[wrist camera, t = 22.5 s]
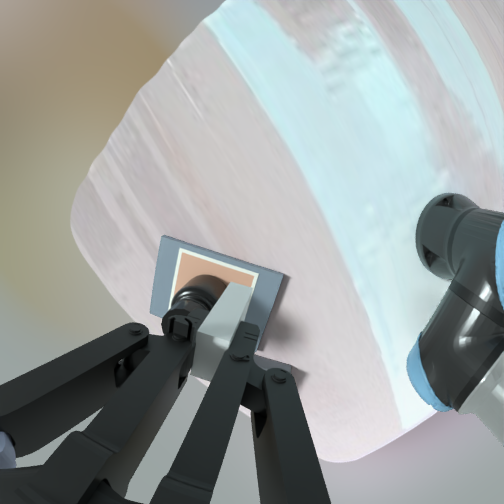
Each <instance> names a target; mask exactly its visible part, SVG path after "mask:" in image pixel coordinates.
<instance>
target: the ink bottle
mask: <svg viewBox="0 0 504 504" xmlns="http://www.w3.org/2000/svg"><path fill="white" fill-rule="evenodd" d="M226 288H227V286H226V285H225V284H224V283H223V282H222V281H221V280H220V279H218V278H216V277H214V276H212V275H206V274H204V275H198V276H196V277H194V278H192V279H191V280H190V281H188V282H187V283H186V284H185V285H184V286H183V287H182V288H181V289H180V290H179V291H178V292H177V293H176V294H175V295H174V297H173V299H172V302H171V308H170V309H169V310H168V311H167V313H166V314H165V315H164V316H163V319H162V323H161V326H162V330H163V333H164V335H165V334H166V332H167V322H168V318H169V317H170V316H174V315H182V316H186V317H187V316H188V314H189V313H190V312H191V311H192V310H194V309H197V308H199V309H203V310H206V311H209V312H210V311H211V310H212V308H213V307H214V305H215V304H216V303H217V301H218V300H219V298H220V297H221V295H222V294H223V292H224V291H225V289H226Z"/></svg>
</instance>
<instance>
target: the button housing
mask: <svg viewBox="0 0 504 504" xmlns="http://www.w3.org/2000/svg"><path fill="white" fill-rule="evenodd" d="M253 359H254V362H255V363H256V364H257V365H258V366H259V367H260V368H262V369H264V370H266V371H267V370H268V369H270V368H281V369H284V370H286V371H288V372H289V373H291V365H289V364H285V363H281V362H278V361H274V360H271V359H268V358H264V357H261V356H258V355H254V356H253Z"/></svg>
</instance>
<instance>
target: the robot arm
mask: <svg viewBox="0 0 504 504" xmlns="http://www.w3.org/2000/svg"><path fill="white" fill-rule="evenodd" d="M416 248H417V252H418V255H419V258H420V260H421V262H422V263H423V265H424V266H425V267H426V268H427V269H428V270H429V271H430V272H432V273H433V274H435V275H436V276H438V277H441V278H444V279H453V280H452V282H451V284H450V286H449V288H448V290H447V292H446V293H445V295H444V297H443V299H442V300H441V302H440V304H439V306H438V307H437V309H436V311H435V312H434V314H433V316H432V317H431V319H430V320H429V322H428V324H427V325H426V327H425V328H424V330H423V331H422V332H421V333H420V334H419V336H418V338H417V341H416V343H415V345H414V346H413V348H412V349H411V351H410V353H409V355H408V357H407V373H408V376H409V379H410V381H411V383H412V385H413V387H414V389H415V390H416V392H417V393H418V394H419V396H420V397H421V398H422V399H423V400H424V401H425V402H426V403H427V404H428V405H430V404H431V405H432V406H433V408H434V409H436V410H438V411H441V412H446V411H449V410H452V409H453V408H454V409H455V410H456V411H457V412H458V413H459V414H468V413H473V414H476V416H477V417H478V418H479V419H480V420H481V421H482V422H483V423H484V424H485V426H487V428H488V429H489V430H490V431H491V432H492V434H493V435H494V436H495V437H496V438H497V439H498V441H499V442H500V443H501V444H502V445H503V446H504V213H502V212H497V211H492V210H487V209H481V208H479V207H478V206H477V205H476V204H475V203H474V202H472V201H471V200H470V199H469V198H467V197H465V196H463V195H460V194H454V193H444V194H441V195H438V196H437V197H435V198H433V199H432V200H431V201H430V202H429V203H428V204H427V205H426V207H425V208H424V210H423V211H422V213H421V215H420V218H419V220H418V224H417V228H416ZM252 290H253V288H252V287H248V286H245V285H241V284H238V283H234V282H230V283H229V285H228V286H227V288H226V289H225V291H224V292H223V294H222V295H221V297H220V298H219V300H218V301H217V303H216V304H215V305H214V307H213V308H212V310H211V311H210V312H209V311H206V310H203V309H199V308H197V309H194V310H192V311H191V312H190V313H189V314H188V316H187V317H186V316H182V315H174V316H170V317H169V318H168V322H167V332H166V334H165V335H164V336H159V335H152V334H149V330H148V328H147V327H146V326H145V325H143V324H140V323H128V324H125V325H123V326H121V327H119V328H117V329H115V330H113V331H111V332H109V333H107V334H105V335H103V336H101V337H99V338H97V339H95V340H93V341H91V342H88V343H86V344H84V345H82V346H81V347H79V348H76V349H74V350H72V351H70V352H68V353H66V354H64V355H62V356H60V357H58V358H56V359H54V360H52V361H50V362H48V363H46V364H44V365H42V366H39V367H37V368H36V369H33V370H31V371H29V372H27V373H25V374H23V375H21V376H19V377H17V378H15V379H13V380H11V381H8V382H6V383H4V384H2V385H0V504H143V503H138V502H134V501H130V500H127V499H125V498H124V497H125V496H126V492H127V489H128V484H129V482H130V479H131V478H132V476H133V475H134V473H135V471H136V469H137V468H138V466H139V464H140V462H141V461H142V459H143V457H144V456H145V454H146V452H147V450H148V448H149V447H150V445H151V443H152V441H153V440H154V438H155V436H156V434H157V433H158V431H159V429H160V427H161V426H162V424H163V422H164V420H165V419H166V417H167V415H168V413H169V412H170V410H171V408H172V406H173V405H174V403H175V401H176V399H177V397H178V396H179V394H180V392H181V390H182V388H183V387H184V385H185V383H186V381H187V377H188V373H189V371H190V369H191V373H190V375H193V376H195V377H198V378H201V379H204V380H207V381H210V382H211V383H210V385H209V387H208V389H207V391H206V394H205V396H204V398H203V400H202V402H201V404H200V407H199V409H198V411H197V413H196V415H195V418H194V420H193V422H192V424H191V426H190V428H189V430H188V432H187V435H186V437H185V439H184V441H183V443H182V445H181V447H180V449H179V452H178V454H177V456H176V458H175V460H174V462H173V464H172V466H171V468H170V470H169V472H168V474H167V475H166V476H164V477H163V479H162V480H161V482H160V484H159V485H158V488H157V489H156V491H155V494H154V495H153V497H152V499H151V501H150V504H210V501H211V498H212V494H213V490H214V487H215V484H216V481H217V478H218V475H219V471H220V468H221V465H222V462H223V459H224V456H225V453H226V449H227V446H228V443H229V440H230V436H231V433H232V429H233V426H234V423H235V420H236V417H237V413H238V410H239V406H240V405H242V406H244V407H246V408H248V409H250V410H251V422H252V432H253V441H254V451H255V460H256V468H257V478H258V487H259V495H260V503H261V504H331V501H330V498H329V495H328V491H327V488H326V484H325V481H324V478H323V474H322V471H321V467H320V464H319V461H318V457H317V454H316V450H315V447H314V444H313V440H312V437H311V434H310V430H309V427H308V423H307V420H306V417H305V413H304V410H303V407H302V403H301V400H300V397H299V393H298V390H297V387H296V383H295V380H294V377H293V376H292V374H291V373H289V372H288V371H286V370H284V369H281V368H270V369H268V370H267V371H266V370H264V369H262V368H260V367H259V366H258V365H257V364H256V363H255V362H254V359H253V356H254V352H255V349H256V345H257V341H258V337H259V334H260V329H259V327H258V325H255V324H251V323H248V322H244V320H245V316H246V313H247V309H248V305H249V301H250V297H251V293H252ZM122 359H123V360H122ZM120 360H121V361H120ZM102 407H103V408H102ZM101 408H102V410H101V411H100V412H99V413H98V414H97V416H96V417H95V418H94V419H93V420H92V422H91V423H90V424H89V425H88V426H87V428H86V429H85V430H84V431H82V432H80V431H74V432H71V433H70V434H69V435H68V436H67V437H66V438H65V440H64V441H63V442H62V443H61V444H60V446H59V447H58V448H57V449H56V450H55V451H54V453H53V454H52V455H51V456H50V457H49V459H48V460H47V461H46V462H45V463H44V464H43V465H38V466H31V467H21V468H16V461H15V459H16V458H18V457H23V456H25V455H28V454H31V453H33V452H35V451H37V450H39V449H40V448H42V447H44V446H45V445H47V444H48V443H50V442H51V441H53V440H54V439H56V438H58V437H59V436H61V435H62V434H64V433H65V432H67V431H68V430H70V429H71V428H73V427H74V426H76V425H77V424H79V423H80V422H82V421H83V420H85V419H86V418H88V417H89V416H91V415H92V414H93V413H95V412H96V411H98V410H99V409H101Z"/></svg>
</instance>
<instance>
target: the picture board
mask: <svg viewBox="0 0 504 504" xmlns="http://www.w3.org/2000/svg"><path fill="white" fill-rule="evenodd" d="M204 274H206V275H212V276H214V277H216V278H218V279H220V280H221V281H222V282H223V283H224V284H225V285H226V286H228V285H229V283H230V282H234V283H238V284H241V285H245V286H248V287H252V288H253V290H252V293H251V297H250V301H249V305H248V309H247V313H246V316H245V320H244V322H248V323H251V324H255V325H258V327H259V329H260V334H259V337H258V341H257V345H256V349H255V352H256V351H257V348H258V345H259V343H260V340H261V337H262V334H263V332H264V329H265V326H266V323H267V321H268V318H269V315H270V312H271V310H272V307H273V304H274V301H275V298H276V295H277V293H278V290H279V287H280V284H281V281H282V278H283V273H280V272H277V271H274V270H271V269H267V268H264V267H261V266H258V265H255V264H252V263H249V262H246V261H242V260H239V259H236V258H233V257H230V256H227V255H224V254H221V253H218V252H215V251H212V250H209V249H205V248H202V247H199V246H196V245H193V244H190V243H187V242H184V241H181V240H178V239H175V238H172V237H169V236H166V235H163V236H161V241H160V247H159V252H158V258H157V264H156V270H155V277H154V283H153V290H152V298H151V305H150V313H151V314H153V315H155V316H158V317H160V318H163V316H164V315H165V314H166V313H167V311H168V310H169V309H170V308H171V302H172V299H173V297H174V295H175V294H176V293H177V292H178V291H179V290H180V289H181V288H182V287H183V286H184V285H185V284H186V283H187V282H188V281H190V280H191V279H192V278H194V277H196V276H198V275H204Z"/></svg>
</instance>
